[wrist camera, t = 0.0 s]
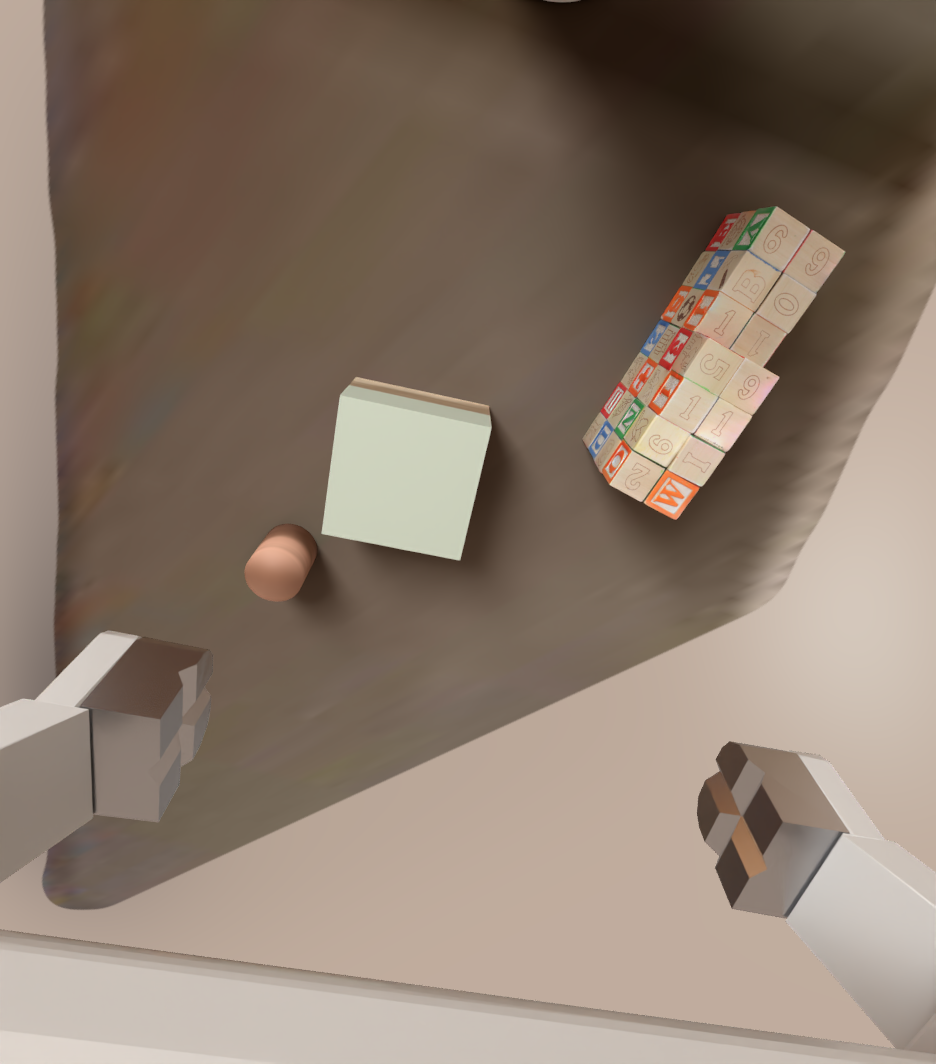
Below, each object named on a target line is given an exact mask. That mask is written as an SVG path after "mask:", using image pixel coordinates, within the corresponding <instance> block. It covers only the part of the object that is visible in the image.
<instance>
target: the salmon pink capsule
mask: <svg viewBox="0 0 936 1064" xmlns="http://www.w3.org/2000/svg"><path fill="white" fill-rule="evenodd" d="M316 555H317V545H316V542H315V540H314V538H313V536H312V535H311V534H310V533H309V532H308V531H307V530H305V529H304V528H302V527H300V526H297V525H294V524H282V525H279V526H276V527H274V528H273V529H272V530H271V531H270V532H269V533H268V534H267V536H266V537H265V538H264V540H263V541H262V543H261V544H260V545H259V547H258V548H257V550H256V551H255V552H254V554H253V555H252V557H251V558H250V560H249V561H248V562H247V564H246V567H245V579H246V582H247V584H248V586H249V587H250V589H251V590H252V591H253V592H254V593H255V594H256V595H258V596H259V597H261V598H263V599H266V600H269V601H285V600H288V599H290V598H292V597H294V596H295V595H296V594H297V593H298V592H299V590H300V588H301V586H302V584H303V582H304V580H305V578H306V576H307V574H308V572H309V570H310V568H311V566H312V564H313V562H314V560H315V558H316Z"/></svg>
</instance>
